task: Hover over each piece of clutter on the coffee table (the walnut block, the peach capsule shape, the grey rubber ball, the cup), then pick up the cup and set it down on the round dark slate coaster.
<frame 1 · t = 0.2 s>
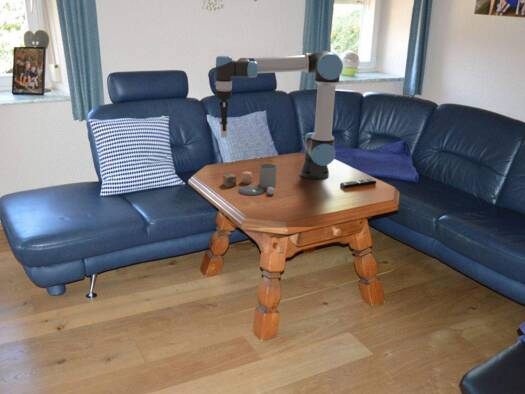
hand: (223, 134, 249), 26 cm above the table, fingers open, 13 cm apart
coaster: (251, 191, 249), on the table
cup: (267, 185, 258), on the table
grey ball: (270, 194, 245), on the table
walnut block: (229, 185, 257), on the table
peach capsule shape: (247, 182, 262), on the table
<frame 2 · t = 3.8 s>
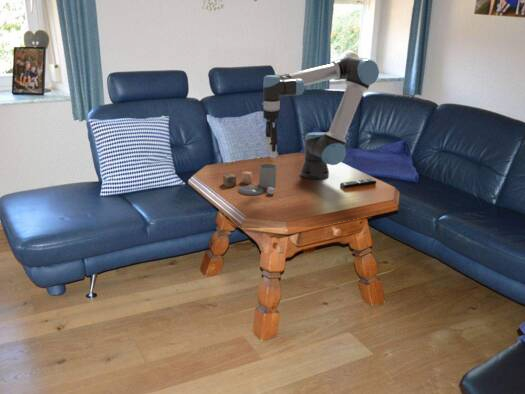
hand: (271, 154, 245), 18 cm above the table, fingers open, 13 cm apart
nothing on the table moved.
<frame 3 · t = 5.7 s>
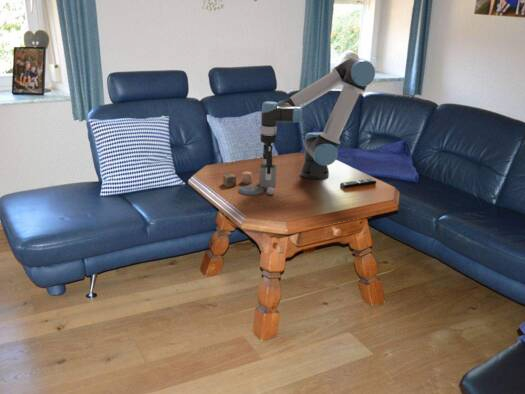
hand: (266, 175, 257), 5 cm above the table, fingers open, 13 cm apart
nothing on the table moved.
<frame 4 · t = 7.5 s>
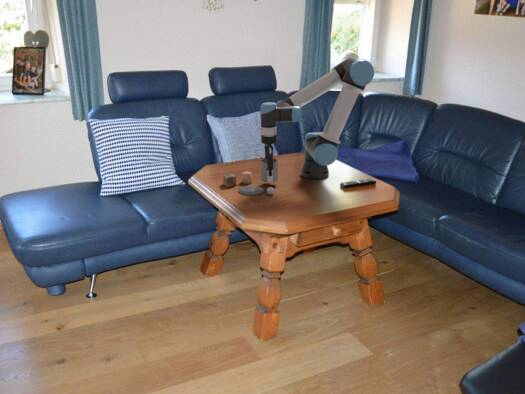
hand: (269, 179, 257), 3 cm above the table, fingers closed on cup, 8 cm apart
cup: (269, 180, 258), point 3 cm above the table, touching gripper
everything else where it was.
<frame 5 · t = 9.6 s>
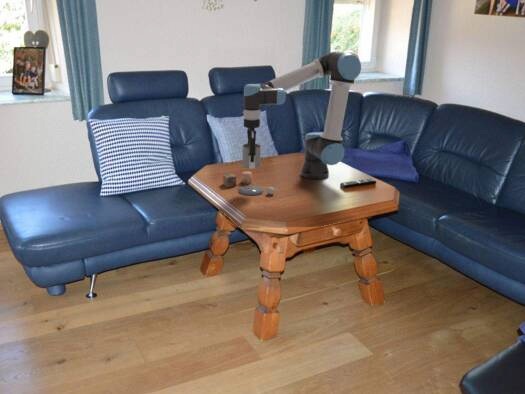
hand: (251, 165, 245), 13 cm above the table, fingers closed on cup, 8 cm apart
cup: (251, 166, 245), point 13 cm above the table, touching gripper
everything else where it was.
when the fingers open (3 cm above the table, at t = 11.7 s): cup drops 2 cm, resting on coaster.
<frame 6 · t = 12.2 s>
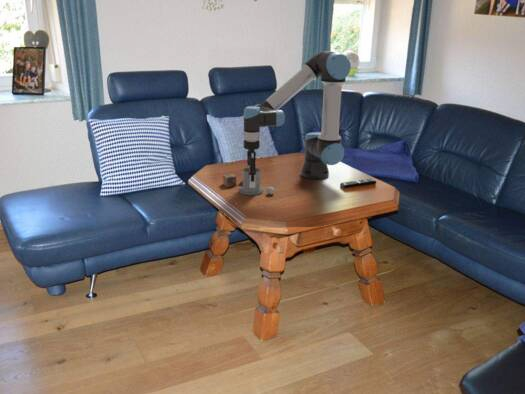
hand: (251, 183, 248), 4 cm above the table, fingers open, 13 cm apart
cup: (251, 189, 249), point 1 cm above the table, touching coaster
everything else where it was.
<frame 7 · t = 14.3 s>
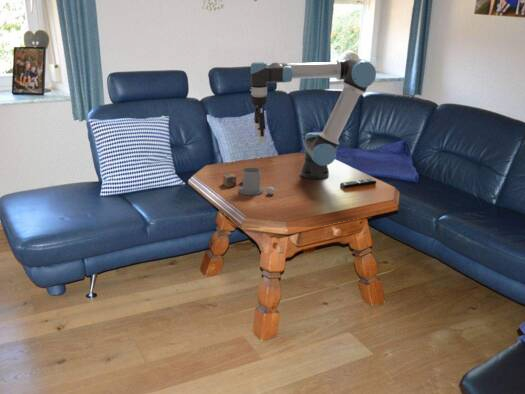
hand: (259, 139, 251), 23 cm above the table, fingers open, 13 cm apart
nothing on the table moved.
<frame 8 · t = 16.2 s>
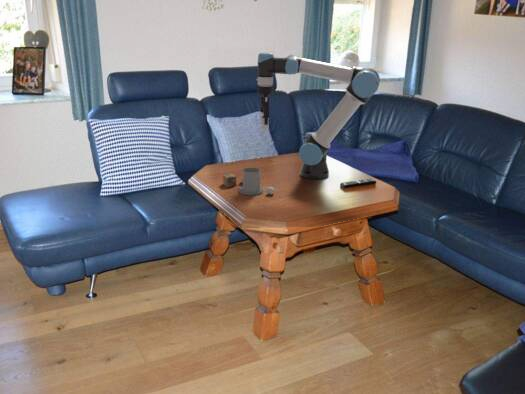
hand: (264, 128, 259), 27 cm above the table, fingers open, 13 cm apart
nothing on the table moved.
at the end: cup inside the target area on the coaster (0.1 cm from its centre), point 0.6 cm above the coaster's base; cup tilted 0°; the gripper is holding nothing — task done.
